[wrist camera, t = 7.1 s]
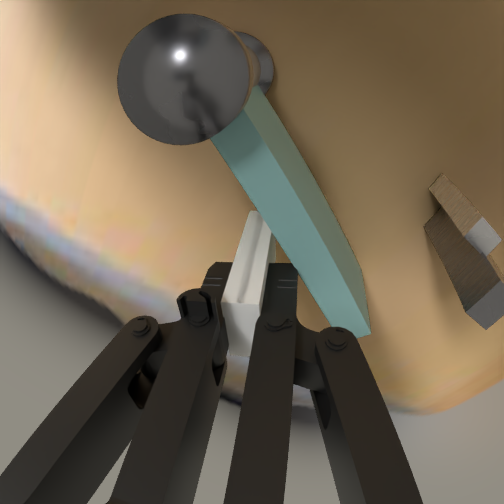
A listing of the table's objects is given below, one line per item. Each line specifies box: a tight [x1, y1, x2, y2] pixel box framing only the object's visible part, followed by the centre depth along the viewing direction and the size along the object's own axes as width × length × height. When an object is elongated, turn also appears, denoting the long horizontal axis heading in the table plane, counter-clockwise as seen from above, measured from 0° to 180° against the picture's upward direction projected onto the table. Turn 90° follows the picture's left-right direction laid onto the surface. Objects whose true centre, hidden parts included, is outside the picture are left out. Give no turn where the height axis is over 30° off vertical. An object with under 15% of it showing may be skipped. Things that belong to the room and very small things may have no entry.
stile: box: [424, 173, 504, 330], centre depth 13 cm, size 3×3×7 cm
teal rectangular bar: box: [210, 45, 371, 338], centre depth 13 cm, size 14×3×5 cm, turn 32°
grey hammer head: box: [117, 14, 274, 145], centre depth 11 cm, size 4×4×7 cm
